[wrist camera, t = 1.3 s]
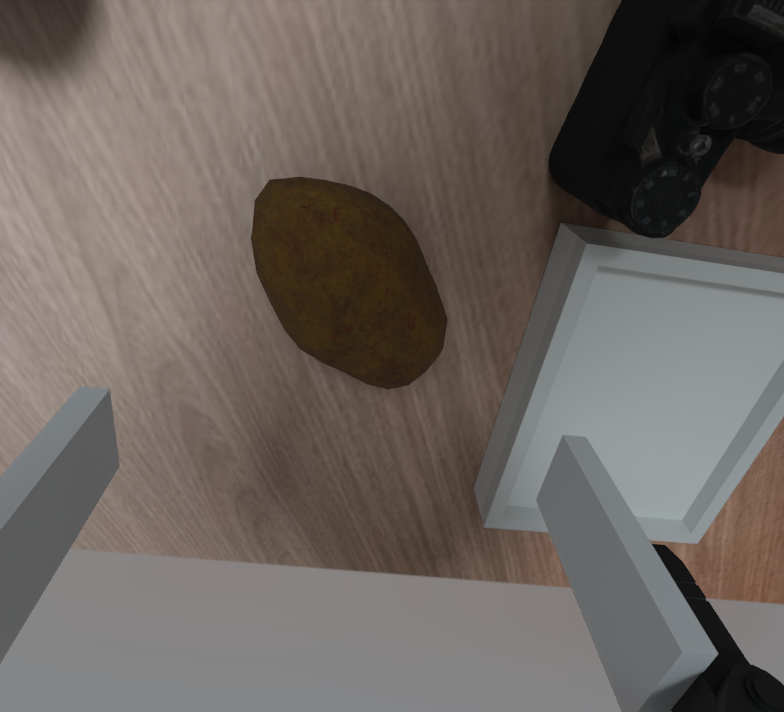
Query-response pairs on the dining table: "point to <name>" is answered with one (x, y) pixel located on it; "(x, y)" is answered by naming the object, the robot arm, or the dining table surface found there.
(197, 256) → the dining table surface
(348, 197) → the potato
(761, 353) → the tray
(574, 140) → the camera
